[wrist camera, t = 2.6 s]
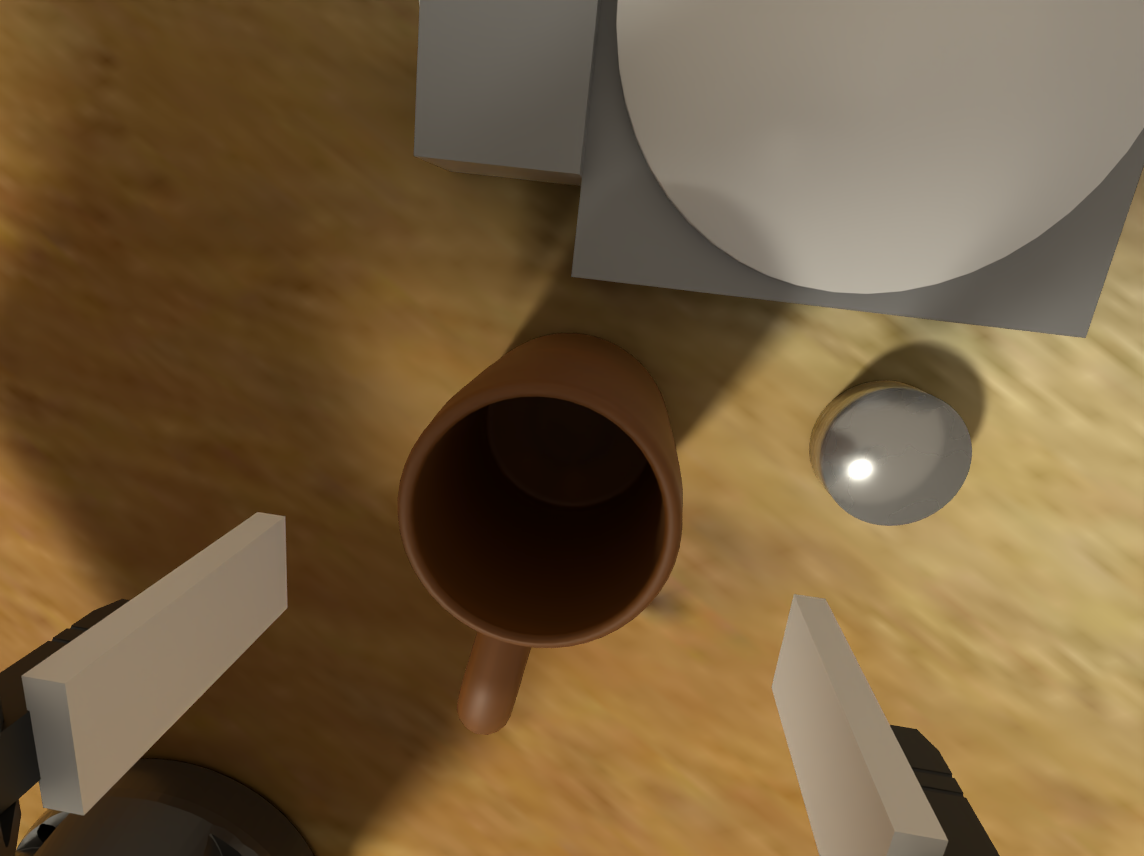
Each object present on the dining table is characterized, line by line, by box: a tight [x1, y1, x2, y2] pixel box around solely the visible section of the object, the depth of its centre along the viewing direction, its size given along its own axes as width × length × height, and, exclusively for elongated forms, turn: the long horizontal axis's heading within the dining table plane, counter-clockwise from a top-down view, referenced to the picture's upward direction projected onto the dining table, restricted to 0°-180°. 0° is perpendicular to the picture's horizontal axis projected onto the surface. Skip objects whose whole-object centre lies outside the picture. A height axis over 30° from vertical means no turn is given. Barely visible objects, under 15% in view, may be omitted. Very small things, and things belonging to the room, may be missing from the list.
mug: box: [398, 333, 683, 735], centre depth 21 cm, size 12×8×9 cm, turn 164°
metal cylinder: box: [809, 380, 972, 526], centre depth 23 cm, size 5×5×2 cm
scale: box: [414, 0, 1144, 338], centre depth 19 cm, size 21×16×4 cm
